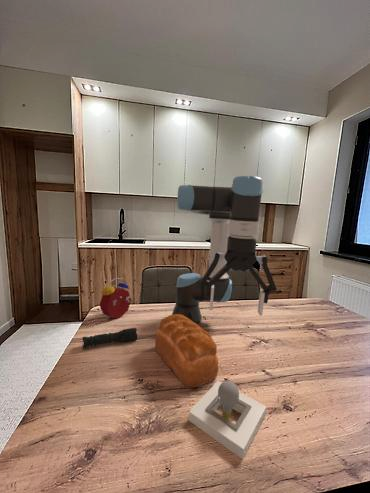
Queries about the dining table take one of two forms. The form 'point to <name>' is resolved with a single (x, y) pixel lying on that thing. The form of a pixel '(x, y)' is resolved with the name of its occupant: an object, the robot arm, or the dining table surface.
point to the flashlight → (110, 337)
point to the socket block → (223, 429)
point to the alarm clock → (115, 300)
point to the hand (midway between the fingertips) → (235, 310)
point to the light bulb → (228, 397)
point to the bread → (187, 350)
